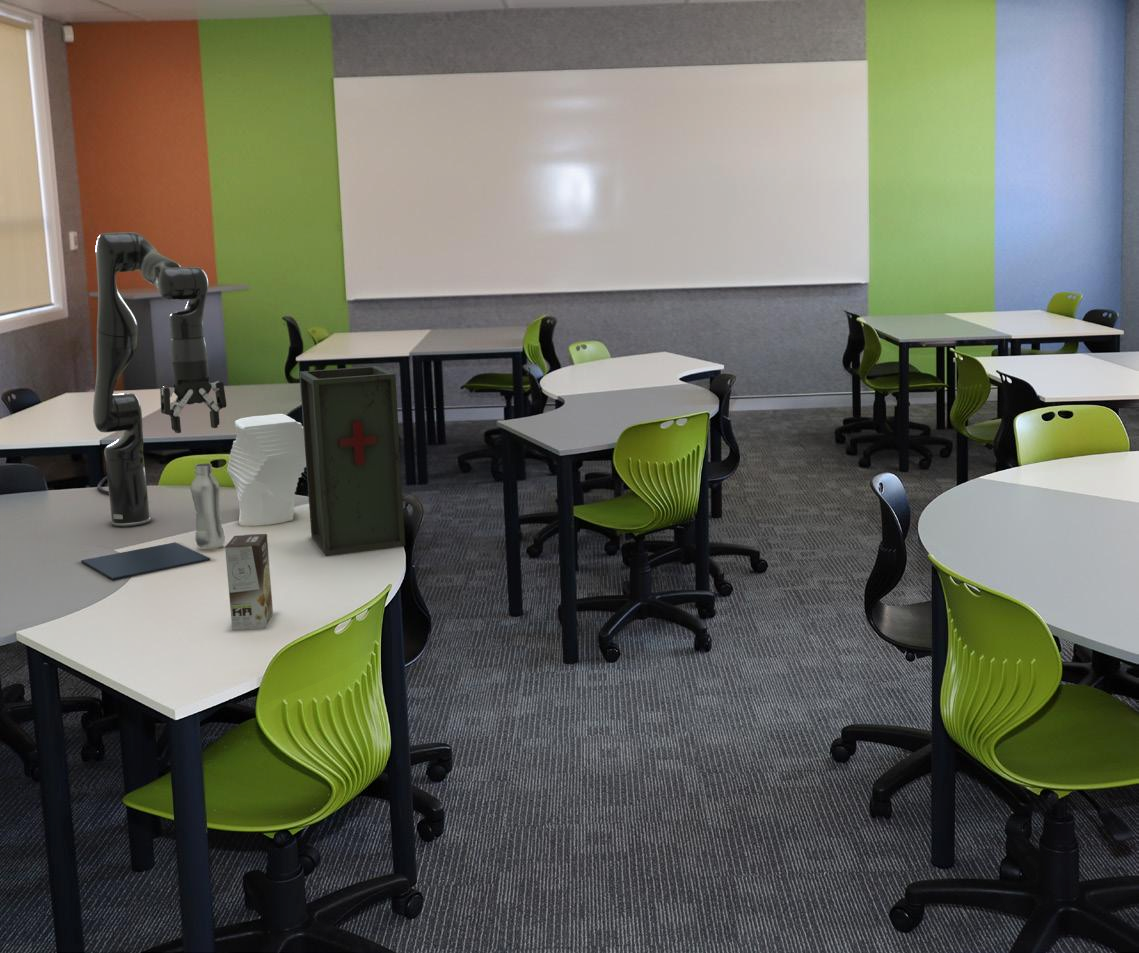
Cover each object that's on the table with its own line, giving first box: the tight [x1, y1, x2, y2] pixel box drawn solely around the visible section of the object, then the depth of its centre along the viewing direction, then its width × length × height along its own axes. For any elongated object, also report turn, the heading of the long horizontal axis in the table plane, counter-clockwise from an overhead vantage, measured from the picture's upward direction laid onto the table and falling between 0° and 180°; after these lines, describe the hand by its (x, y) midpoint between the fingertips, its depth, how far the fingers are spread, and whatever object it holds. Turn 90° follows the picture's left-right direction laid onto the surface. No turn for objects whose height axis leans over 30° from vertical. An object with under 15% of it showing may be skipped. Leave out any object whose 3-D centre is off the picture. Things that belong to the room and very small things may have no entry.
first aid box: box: [298, 365, 406, 557], centre depth 283 cm, size 18×18×40 cm
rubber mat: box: [80, 541, 211, 581], centre depth 275 cm, size 20×22×1 cm
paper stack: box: [226, 413, 306, 527], centre depth 313 cm, size 21×27×26 cm
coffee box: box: [224, 533, 274, 631], centre depth 229 cm, size 9×6×16 cm
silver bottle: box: [190, 462, 226, 550], centre depth 283 cm, size 6×7×20 cm
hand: (196, 430), depth 274 cm, fingers open, 8 cm apart
